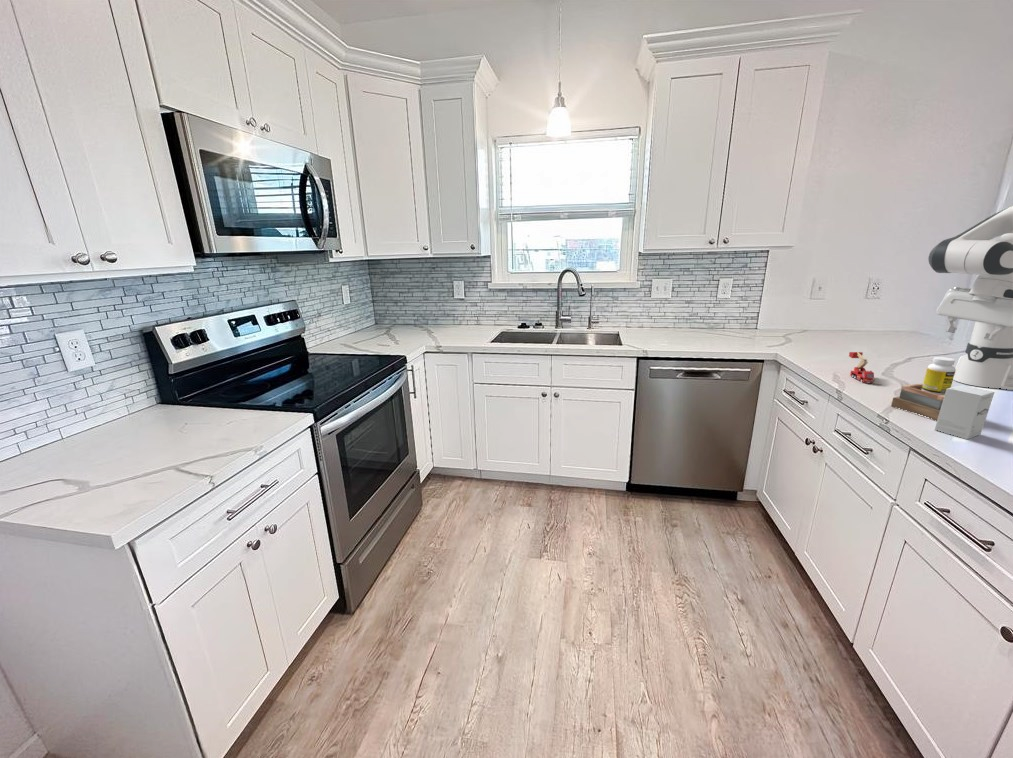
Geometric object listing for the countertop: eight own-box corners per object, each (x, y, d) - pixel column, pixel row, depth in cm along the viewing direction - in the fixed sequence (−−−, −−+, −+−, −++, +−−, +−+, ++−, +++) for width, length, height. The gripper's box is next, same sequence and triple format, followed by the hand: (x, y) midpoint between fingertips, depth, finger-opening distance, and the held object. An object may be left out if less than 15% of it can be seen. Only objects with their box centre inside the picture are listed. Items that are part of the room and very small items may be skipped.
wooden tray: (922, 402, 144) (928, 381, 142) (970, 416, 132) (977, 394, 130) (891, 406, 142) (896, 385, 140) (936, 421, 130) (943, 398, 128)
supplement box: (968, 440, 117) (982, 395, 114) (933, 430, 124) (945, 387, 120) (982, 435, 120) (996, 391, 116) (947, 425, 127) (959, 383, 123)
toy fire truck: (863, 384, 164) (869, 359, 161) (844, 373, 177) (849, 350, 174) (873, 384, 164) (879, 359, 161) (853, 374, 176) (859, 350, 174)
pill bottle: (943, 397, 131) (953, 362, 128) (917, 392, 136) (926, 357, 133) (952, 394, 134) (962, 359, 131) (926, 388, 139) (935, 355, 136)
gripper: (943, 284, 139) (923, 327, 142) (1032, 295, 120) (1006, 343, 124) (955, 287, 141) (934, 329, 145) (1044, 298, 122) (1017, 346, 126)
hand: (968, 336), depth 134 cm, fingers open, 8 cm apart
